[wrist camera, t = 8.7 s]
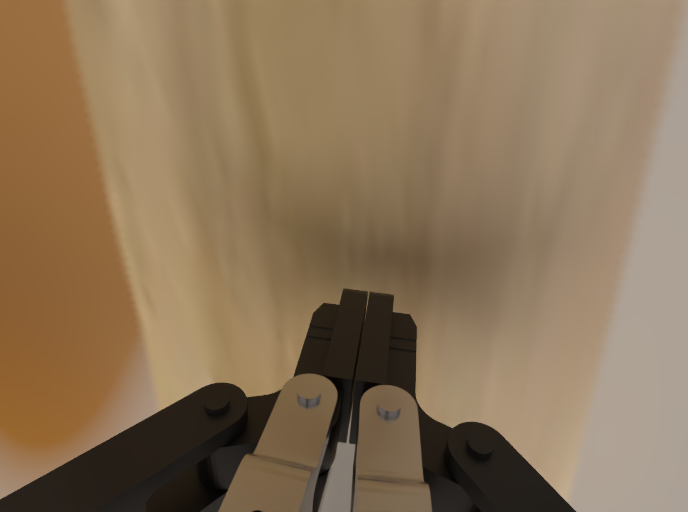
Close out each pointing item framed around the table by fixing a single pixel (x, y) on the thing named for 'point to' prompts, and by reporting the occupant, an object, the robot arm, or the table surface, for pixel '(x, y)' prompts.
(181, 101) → the table surface
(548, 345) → the table surface
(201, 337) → the table surface
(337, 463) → the flask
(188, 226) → the table surface
